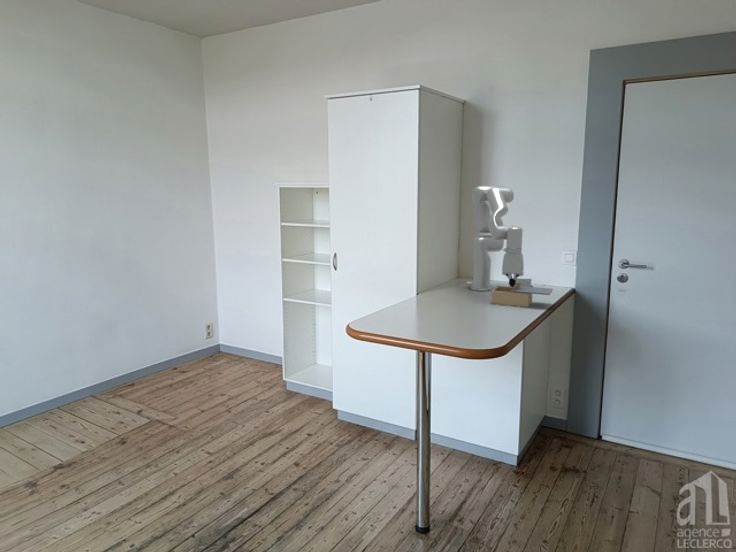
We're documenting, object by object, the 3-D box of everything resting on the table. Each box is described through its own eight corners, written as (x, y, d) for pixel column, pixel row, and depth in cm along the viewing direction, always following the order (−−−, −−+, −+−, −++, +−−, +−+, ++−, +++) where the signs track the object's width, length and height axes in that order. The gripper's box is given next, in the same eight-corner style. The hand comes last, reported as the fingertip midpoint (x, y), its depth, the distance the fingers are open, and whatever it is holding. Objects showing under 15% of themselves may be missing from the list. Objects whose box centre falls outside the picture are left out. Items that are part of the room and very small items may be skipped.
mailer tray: (491, 304, 259) (491, 290, 258) (497, 298, 271) (497, 286, 270) (527, 307, 251) (528, 293, 250) (531, 302, 264) (532, 288, 262)
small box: (528, 295, 281) (529, 276, 279) (530, 297, 275) (531, 278, 273) (513, 295, 281) (514, 276, 280) (515, 297, 276) (516, 278, 274)
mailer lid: (510, 291, 253) (510, 286, 253) (515, 286, 266) (515, 281, 266) (549, 295, 245) (549, 289, 245) (552, 289, 258) (553, 284, 258)
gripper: (497, 251, 257) (495, 286, 260) (527, 252, 250) (525, 289, 253) (500, 249, 263) (498, 284, 267) (530, 251, 257) (528, 286, 260)
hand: (512, 286), depth 260 cm, fingers closed
